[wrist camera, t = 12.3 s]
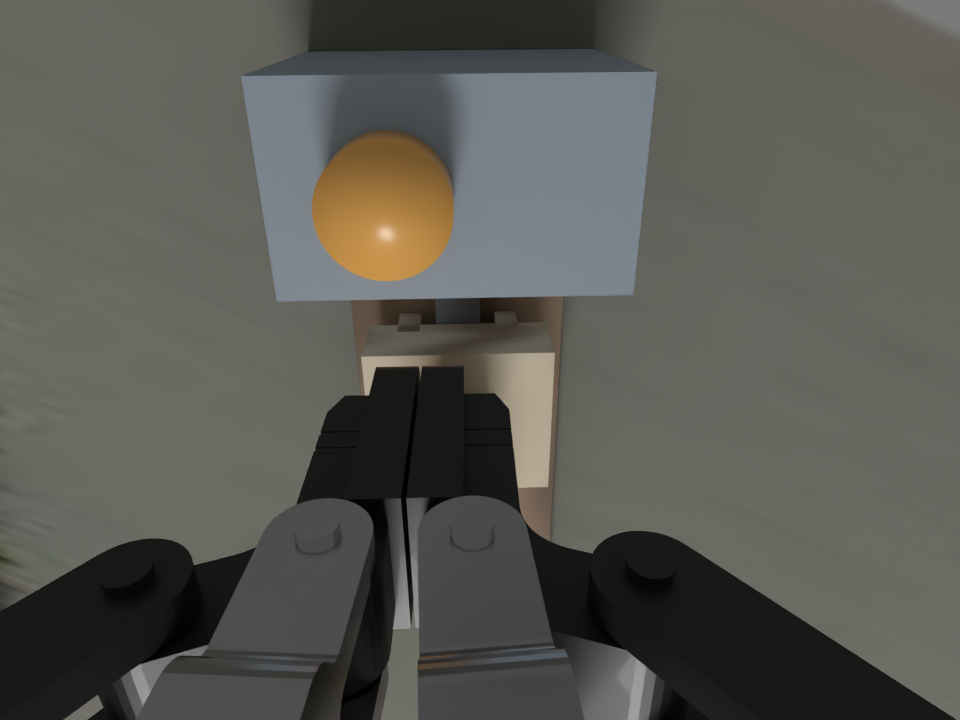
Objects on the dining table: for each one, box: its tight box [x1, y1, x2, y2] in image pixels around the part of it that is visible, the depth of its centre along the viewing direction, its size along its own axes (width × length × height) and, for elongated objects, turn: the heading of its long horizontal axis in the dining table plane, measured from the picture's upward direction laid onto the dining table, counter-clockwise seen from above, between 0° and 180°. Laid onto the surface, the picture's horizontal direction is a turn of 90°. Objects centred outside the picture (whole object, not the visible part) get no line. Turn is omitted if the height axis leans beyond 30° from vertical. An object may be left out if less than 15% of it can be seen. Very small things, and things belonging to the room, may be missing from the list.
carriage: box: [361, 311, 555, 488], centre depth 29 cm, size 8×7×9 cm
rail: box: [351, 296, 563, 541], centre depth 36 cm, size 10×22×3 cm, turn 0°
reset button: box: [312, 130, 454, 281], centre depth 20 cm, size 4×4×2 cm
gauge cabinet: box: [241, 49, 657, 302], centre depth 26 cm, size 13×7×10 cm, turn 90°
